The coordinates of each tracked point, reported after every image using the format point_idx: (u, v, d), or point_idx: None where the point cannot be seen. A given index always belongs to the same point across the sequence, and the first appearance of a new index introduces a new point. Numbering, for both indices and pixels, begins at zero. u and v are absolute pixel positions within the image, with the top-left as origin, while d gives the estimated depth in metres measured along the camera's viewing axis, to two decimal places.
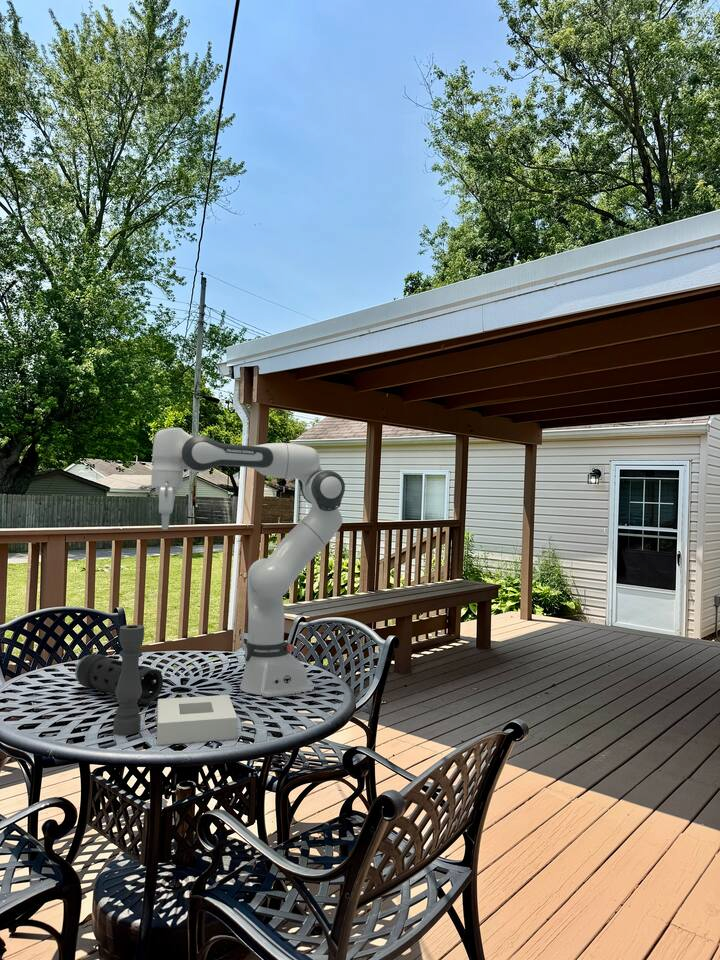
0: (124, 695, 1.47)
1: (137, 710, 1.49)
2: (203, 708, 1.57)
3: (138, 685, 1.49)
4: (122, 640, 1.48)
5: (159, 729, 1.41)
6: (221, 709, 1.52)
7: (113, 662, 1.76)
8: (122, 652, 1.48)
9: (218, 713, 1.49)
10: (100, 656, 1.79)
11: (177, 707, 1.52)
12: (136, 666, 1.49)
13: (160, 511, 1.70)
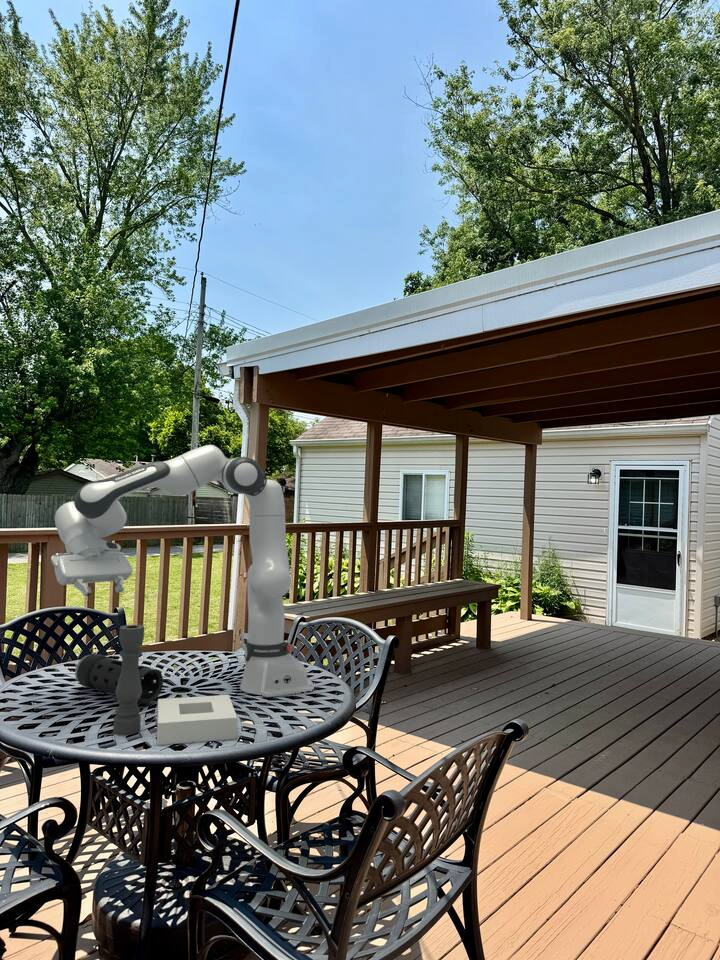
0: (124, 695, 1.47)
1: (137, 710, 1.49)
2: (203, 708, 1.57)
3: (138, 685, 1.49)
4: (122, 640, 1.48)
5: (159, 729, 1.41)
6: (221, 709, 1.52)
7: (113, 662, 1.76)
8: (122, 652, 1.48)
9: (218, 713, 1.49)
10: (100, 656, 1.79)
11: (177, 707, 1.52)
12: (136, 666, 1.49)
13: (60, 583, 1.56)
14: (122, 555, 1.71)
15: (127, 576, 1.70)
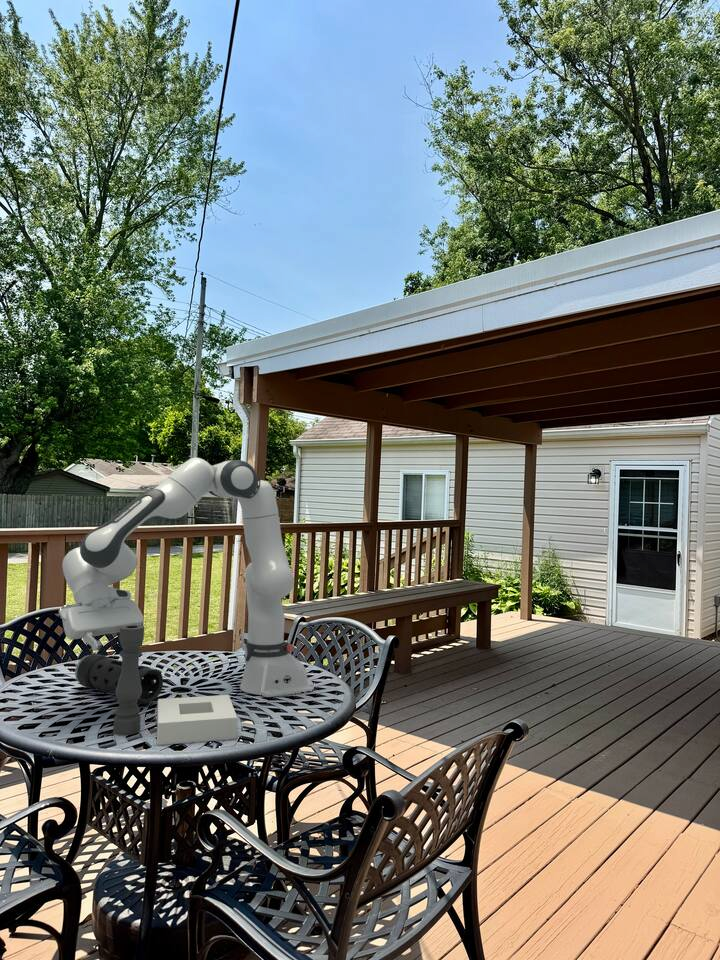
0: (124, 695, 1.47)
1: (137, 710, 1.49)
2: (203, 708, 1.57)
3: (138, 685, 1.49)
4: (122, 640, 1.48)
5: (159, 729, 1.41)
6: (221, 709, 1.52)
7: (113, 662, 1.76)
8: (122, 652, 1.48)
9: (218, 713, 1.49)
10: (100, 656, 1.79)
11: (177, 707, 1.52)
12: (136, 666, 1.49)
13: (69, 638, 1.49)
14: (133, 603, 1.64)
15: None
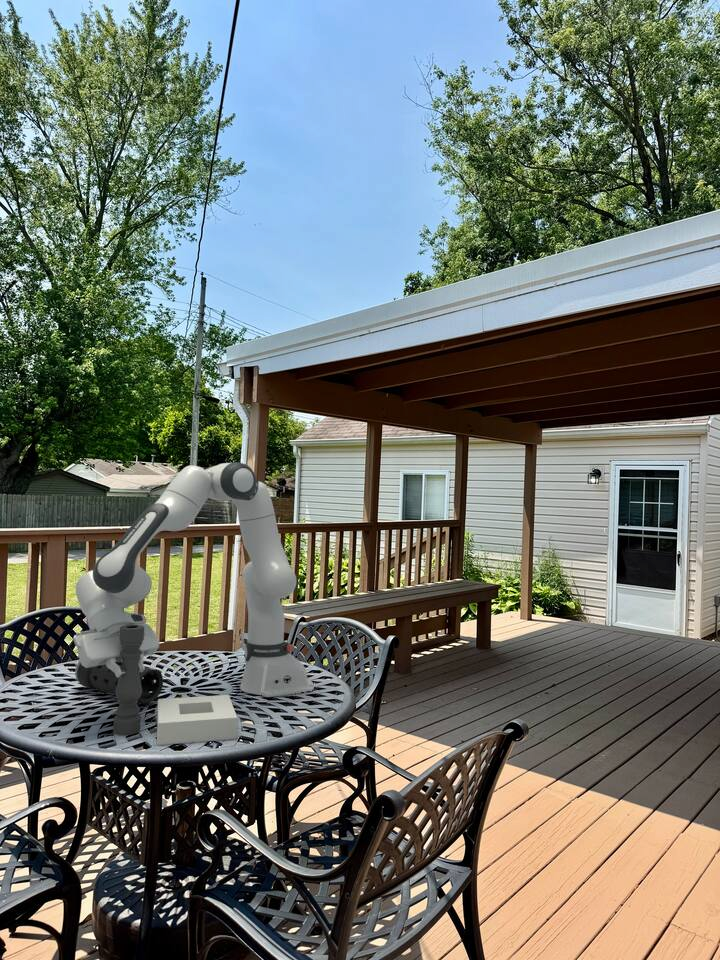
0: (124, 695, 1.47)
1: (137, 710, 1.49)
2: (203, 708, 1.57)
3: (138, 685, 1.49)
4: (122, 640, 1.48)
5: (159, 729, 1.41)
6: (221, 709, 1.52)
7: None
8: (122, 652, 1.48)
9: (218, 713, 1.49)
10: None
11: (177, 707, 1.52)
12: (136, 666, 1.49)
13: (84, 666, 1.44)
14: (148, 627, 1.60)
15: (154, 651, 1.58)
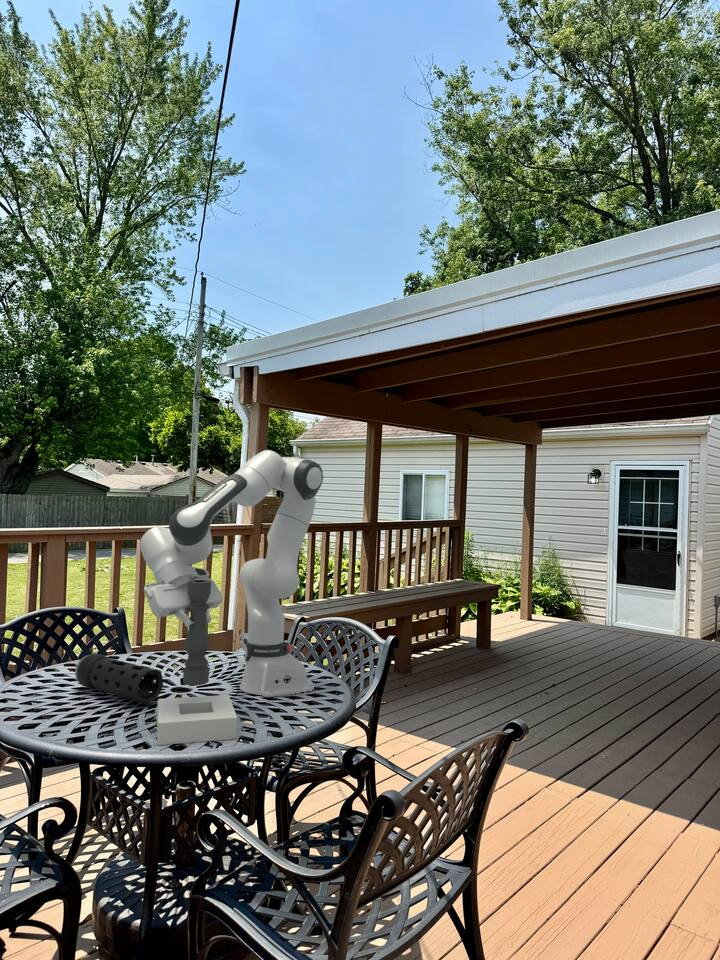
0: (194, 647, 1.50)
1: (206, 662, 1.53)
2: (203, 708, 1.57)
3: (206, 637, 1.53)
4: (191, 593, 1.51)
5: (159, 729, 1.41)
6: (221, 709, 1.52)
7: (113, 662, 1.76)
8: (191, 605, 1.52)
9: (218, 713, 1.49)
10: (100, 656, 1.79)
11: (177, 707, 1.52)
12: (204, 619, 1.53)
13: (156, 615, 1.48)
14: (211, 582, 1.64)
15: (218, 604, 1.62)
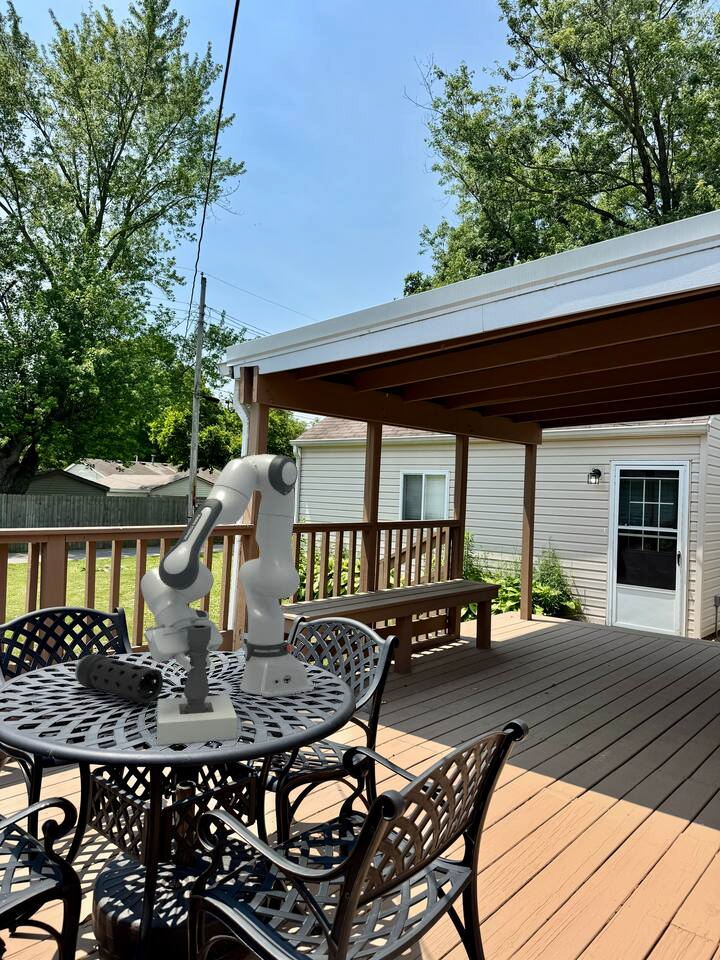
0: (194, 694, 1.50)
1: (205, 708, 1.52)
2: None
3: (206, 683, 1.52)
4: (192, 640, 1.51)
5: (159, 729, 1.41)
6: (221, 709, 1.52)
7: (113, 662, 1.76)
8: (191, 652, 1.51)
9: (218, 713, 1.49)
10: (100, 656, 1.79)
11: (177, 707, 1.52)
12: (204, 665, 1.52)
13: (155, 660, 1.47)
14: (211, 623, 1.63)
15: (218, 646, 1.61)
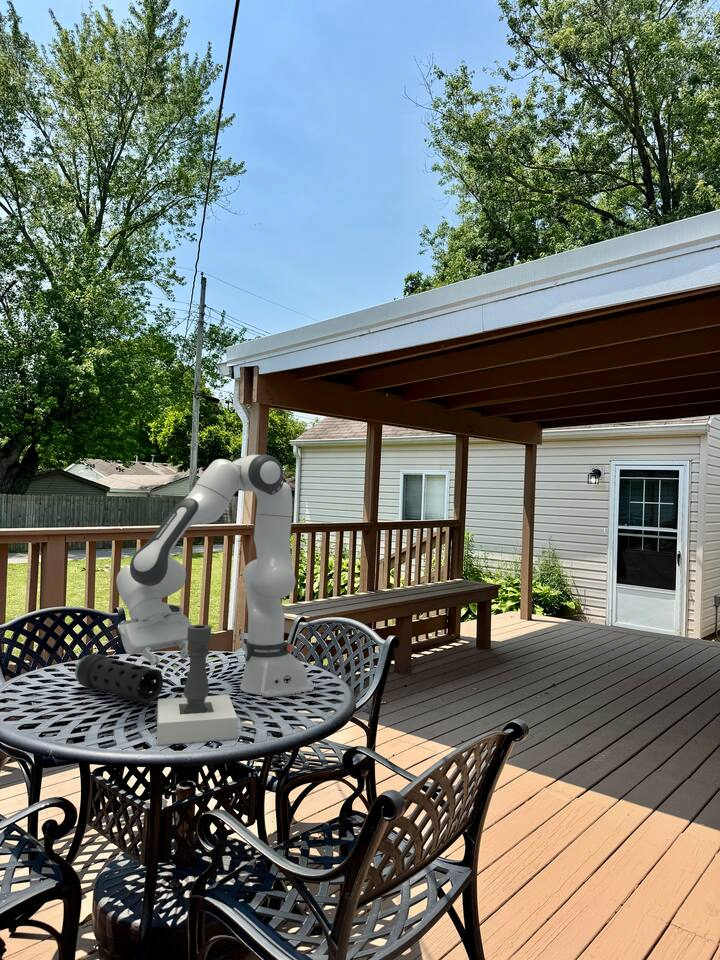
0: (194, 694, 1.50)
1: (205, 708, 1.52)
2: None
3: (206, 683, 1.52)
4: (192, 640, 1.51)
5: (159, 729, 1.41)
6: (221, 709, 1.52)
7: (113, 662, 1.76)
8: (191, 652, 1.51)
9: (218, 713, 1.49)
10: (100, 656, 1.79)
11: (177, 707, 1.52)
12: (204, 665, 1.52)
13: (128, 653, 1.54)
14: (184, 618, 1.69)
15: None
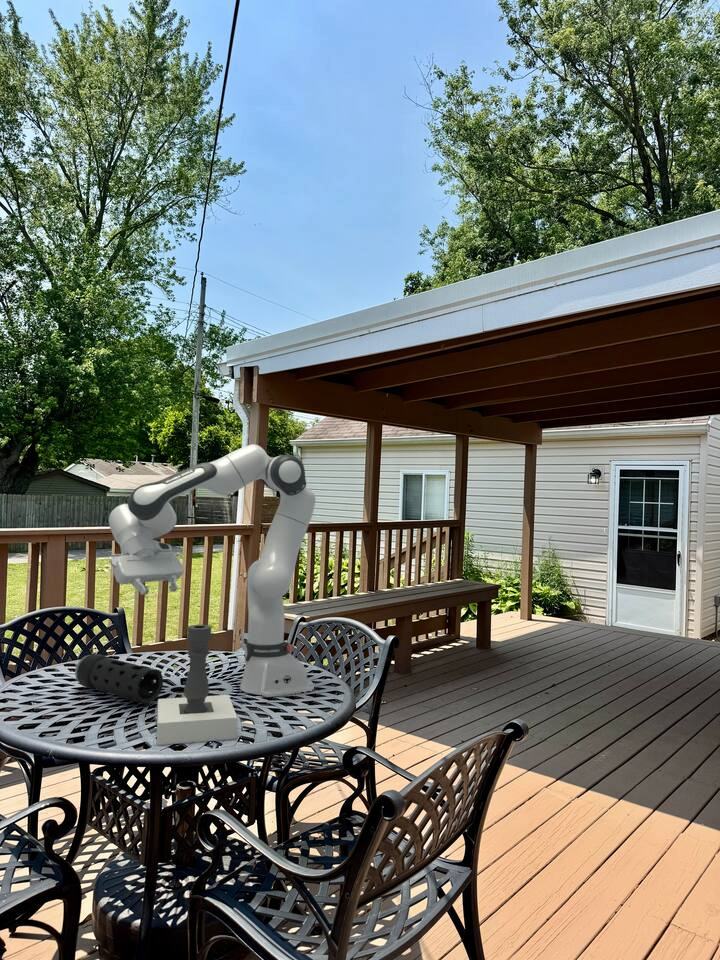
0: (194, 694, 1.50)
1: (205, 708, 1.52)
2: None
3: (206, 683, 1.52)
4: (192, 640, 1.51)
5: (159, 729, 1.41)
6: (221, 709, 1.52)
7: (113, 662, 1.76)
8: (191, 652, 1.51)
9: (218, 713, 1.49)
10: (100, 656, 1.79)
11: (177, 707, 1.52)
12: (204, 665, 1.52)
13: (119, 582, 1.62)
14: (174, 555, 1.78)
15: (179, 575, 1.76)
